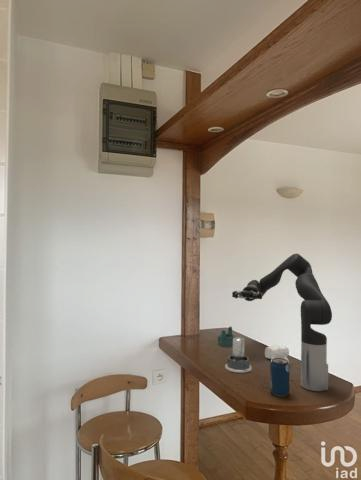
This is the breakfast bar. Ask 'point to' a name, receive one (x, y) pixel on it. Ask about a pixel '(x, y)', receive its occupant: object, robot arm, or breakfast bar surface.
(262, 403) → the breakfast bar surface
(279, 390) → the soda can
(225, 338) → the dark teal irregular lump
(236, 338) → the pipe
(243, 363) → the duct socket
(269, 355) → the white crumpled piece
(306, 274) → the robot arm
